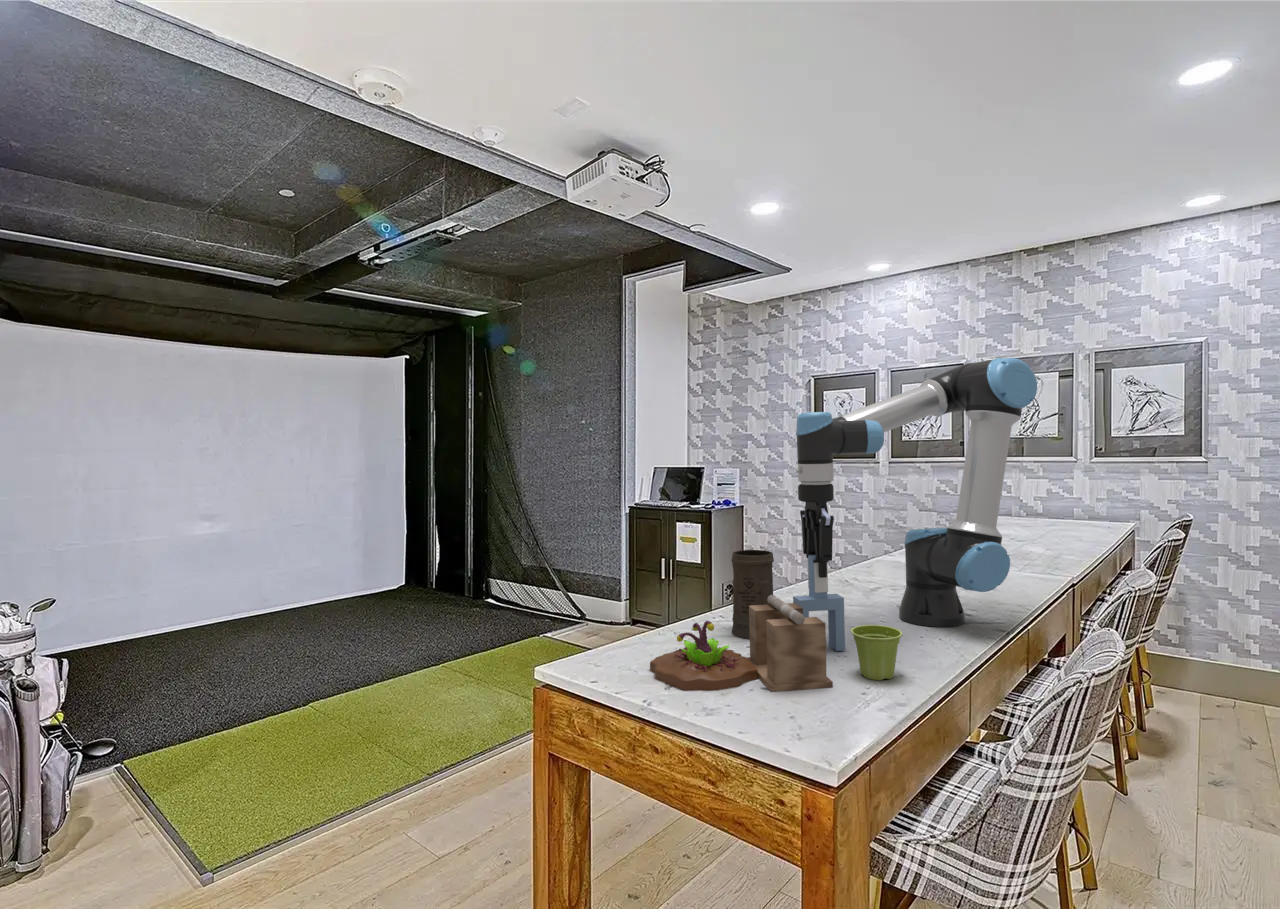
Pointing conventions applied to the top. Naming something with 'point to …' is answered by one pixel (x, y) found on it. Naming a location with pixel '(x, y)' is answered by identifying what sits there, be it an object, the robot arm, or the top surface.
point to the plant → (703, 664)
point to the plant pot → (876, 650)
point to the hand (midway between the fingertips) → (818, 589)
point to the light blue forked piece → (825, 608)
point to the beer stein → (750, 586)
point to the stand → (787, 646)
